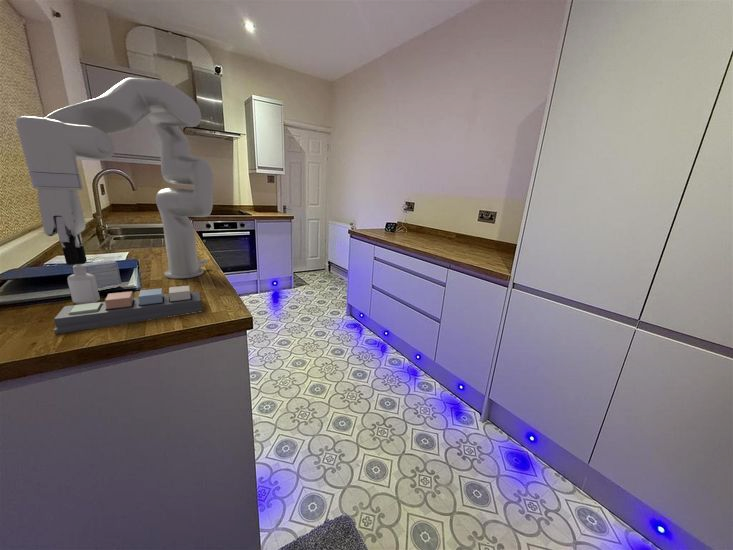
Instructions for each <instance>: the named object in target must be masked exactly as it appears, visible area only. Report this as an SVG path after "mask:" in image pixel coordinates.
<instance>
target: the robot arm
mask: <svg viewBox="0 0 733 550" xmlns="http://www.w3.org/2000/svg"><path fill="white" fill-rule="evenodd" d="M145 117H146V119H147V120H148V121H149V123H150V124H151V126H152V127H153V128H154V130H155V132H156V134H157V136H158V138H159V144H160V145H159V146H160V173H161V177H162V179H163V180H164V181H165V182H167V183H169V184H172V185H182V186H192V187H193V188H183V187H182V188H179V187H165V188H162V189H160V190H158V191H157V193H156V195H155V202H156V203H155V204H156V206H157V209H158V212H159V215H160V218H161V222H162V226H163V227H162V228H163V236H164V242H165V243H164V244H165V249H166V251H165V252H166V256H167V258H166V259H167V265H168V266H167V267H168V269H167V270H165V271H164V277H165V278H168V279H175V280H176V279H190V278H195V277H199V276H201V275H203V274H204V269H203V268H201V267H202V266H203V265H206V264H207V263H208V261H207V260H206V259H201V260H199V259H198V251H197V241H196V234H195V233H196V231H195V227H194V224H193V222H192V221H191V220H190V219H189V217H191V218H193V217H195V218H207V217H209V216H210V215H211V213H212V211H213V207H214V204H213V203H214V178H213V177H214V175H213V170H212V167H211V164H210V163H209V162H208V161H207V160H206V159H204V158H202V157H195V156H194V157H192V156H191V155H190V154H191V152H190V151H191V150H190V149H191V148H190V143H189V140H188V138H187V137H186V135H185V134H184V133H183V132H182V131H181V129H180V128H179V127H185V128H186V127H187V128H194V127H197V126H198V125H200V124H201V121H202V113H201V109H200V107H199V106H198V104H197V102H195V99H193V98H192V97H190V96H189V95H188V94H186V93H185V92H183V91H182V90H180V89H179V88H178V87H176V86H174V85H173V84H171V83H170V82H167V81H164V80H161V79H154V78H142V77H127V78H125V79H124V78H123V79H122V80H121V81H120V82H117V83H116V84H115V85H113V86H112V87H111V88H110V89H108V90H106V92H104V93H103V94H101V95H100V96H98V97H96V98H92V99H88V100H84V101H81V102H79V103H75V104H70V105H67V106H65V107H62V108H60V109H57V110H54V111H53V112H51V113H49V114H48V115H47V116H44V117H39V116H29V115H27V116H26V115H24V116H23V115H22V116H19V117H17V118H16V120H15V125H16V129H17V130H16V131H17V133H18V137H19V141H20V144H21V149H22V152H23V155H24V156H23V157H24V158H25V163H26V166H27V171H28V174H29V177H30V178H29V179H30V181H31V182H30V183H31V185H32V188H33V189H34V190H35V189H37V200H38V207H39V213H40V217H41V221H42V227H43V231H44V234H45V236H47V237H53V236H56V235H58V241H59V243H60V244H61V248H62V253H63V255H64V260H65V264H66V265H68V266H72V265H73V266H74V265H75V264H85V263H88V260H87V256H86V251H85V248H84V245H83V239H82V232H84V231H85V230H86V227H87V226H86V220H85V215H84V211H83V210H84V209H83V208H82V202H81V200H80V196H79V193H78V191H81V190H84V189H83V184H82V180H81V175H80V174H81V173H80V171H79V166H78V161H77V160H81V161H95V162H98V161H99V162H100V161H106V160H108V159H110V158H111V157H113V155H114V154H115V151H116V147H115V143H114V140H113V139H112V137H111V136H110V135H111V134H117V133H123V132H127V131H130V130H132V129H134V128H135V127H136V126H137V125H138V124H139V123H140V122H141V121H142V120H143V119H144V118H145ZM109 134H110V135H109Z"/></svg>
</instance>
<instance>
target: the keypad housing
mask: <svg viewBox="0 0 733 550" xmlns="http://www.w3.org/2000/svg"><path fill="white" fill-rule="evenodd" d="M190 297H191V299H186V300H178V301H170V297H169V294H163V302H161V303H153V304H145V305H140V303H139V297H133V299H134V300H133V303H132V306H129V307H121V308H113V309H107V308H106V303H105V301H100V302H101V303H102V307H101V309H100V311H99V312H91V313H83V314H75V315H70V312H71V310H72V309H73V308H74V306H75V305H76V304H73V305H66V306H65V305H64V306H63V308H62V309H61V310H60V311H59V312H58V313H57V315H56V316H55V317H54V319H53V321H54V325H55V328H54V329H53V331H54V334H55V335H56V334H62V333H63V334H64V333H70V332H77V330H78V331H82V330H83V331H84V330H89V329H96V328H105V327H109V326H119V325H124V324H132V323H137V321H139V322H144V321H143V320H146V321H150V320H149V319H152V320H158V319H157V318H159V319H163V318H162V317H166V318H169V317H168V316H173V317H175V316H174V315H180V316H182V315H181V314H186V313H192V312H199V311H202V312H203V307H202V301H201V299H202V298H201V294H200V291H197V290H196V291H190ZM186 315H187V314H186Z"/></svg>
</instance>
